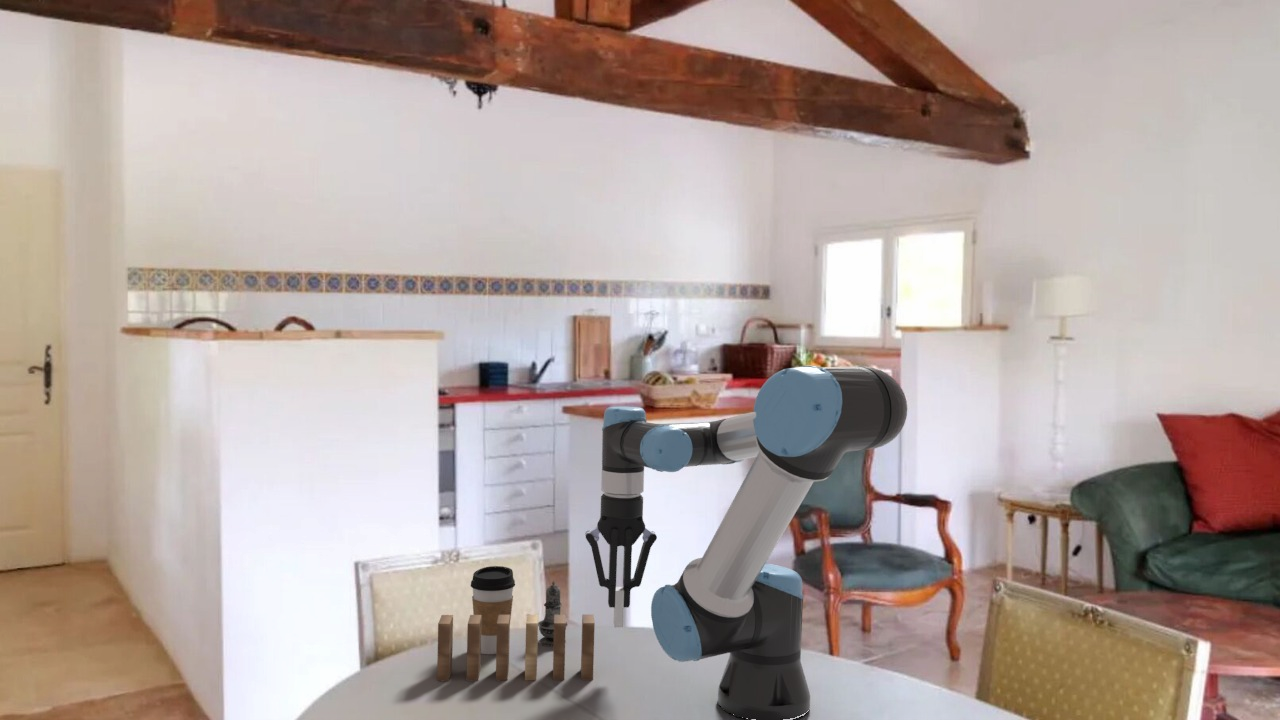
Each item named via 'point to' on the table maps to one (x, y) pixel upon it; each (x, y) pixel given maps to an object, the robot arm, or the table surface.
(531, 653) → the oak domino
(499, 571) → the coffee cup
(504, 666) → the domino
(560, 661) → the domino
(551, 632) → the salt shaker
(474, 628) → the domino
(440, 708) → the table surface
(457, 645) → the table surface
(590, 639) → the domino
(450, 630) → the domino
